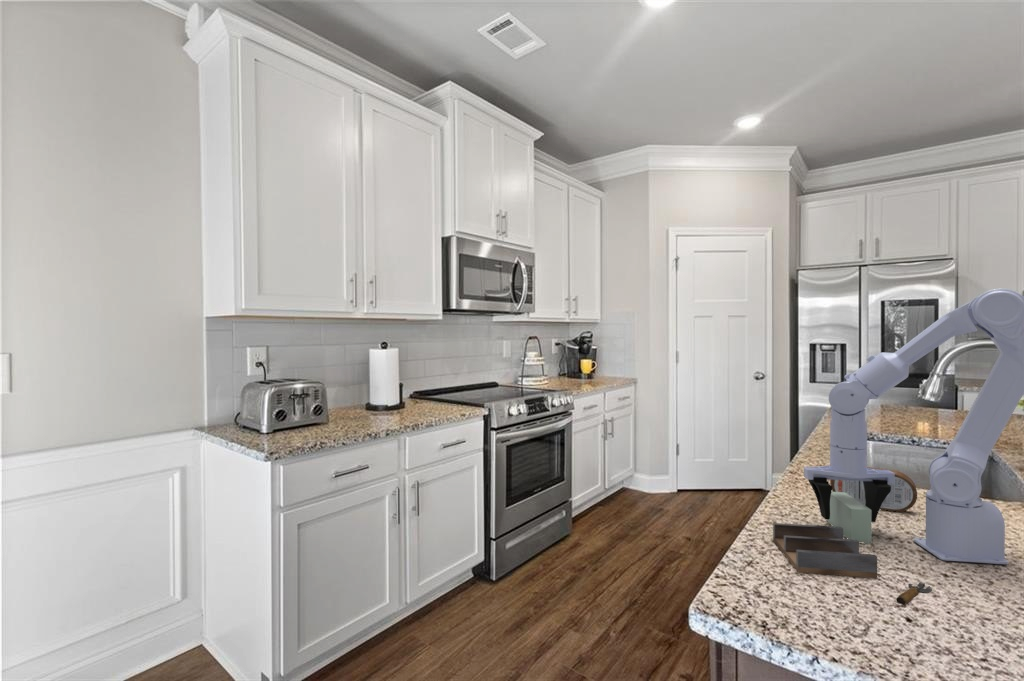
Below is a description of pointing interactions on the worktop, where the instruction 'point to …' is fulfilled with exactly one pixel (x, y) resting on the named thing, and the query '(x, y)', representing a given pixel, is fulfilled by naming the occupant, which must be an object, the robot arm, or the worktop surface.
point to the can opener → (912, 593)
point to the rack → (823, 550)
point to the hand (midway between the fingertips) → (847, 518)
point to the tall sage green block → (850, 517)
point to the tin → (896, 500)
